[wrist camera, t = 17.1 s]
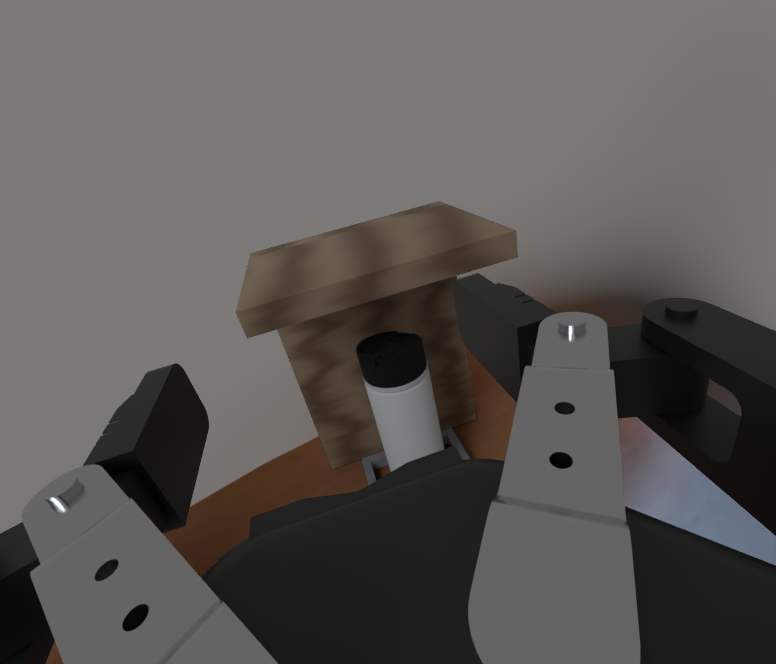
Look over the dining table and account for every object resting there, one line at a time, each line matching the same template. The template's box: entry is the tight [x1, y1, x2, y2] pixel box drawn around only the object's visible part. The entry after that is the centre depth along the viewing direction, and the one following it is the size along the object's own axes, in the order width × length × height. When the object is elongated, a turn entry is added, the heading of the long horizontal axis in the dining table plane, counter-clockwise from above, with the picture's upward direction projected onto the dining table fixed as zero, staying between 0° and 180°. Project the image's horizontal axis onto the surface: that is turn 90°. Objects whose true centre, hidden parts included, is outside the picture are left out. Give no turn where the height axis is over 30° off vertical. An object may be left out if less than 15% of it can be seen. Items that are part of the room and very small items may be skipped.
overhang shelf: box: [236, 201, 518, 469], centre depth 41 cm, size 20×16×28 cm
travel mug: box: [356, 331, 444, 472], centre depth 41 cm, size 6×7×20 cm
